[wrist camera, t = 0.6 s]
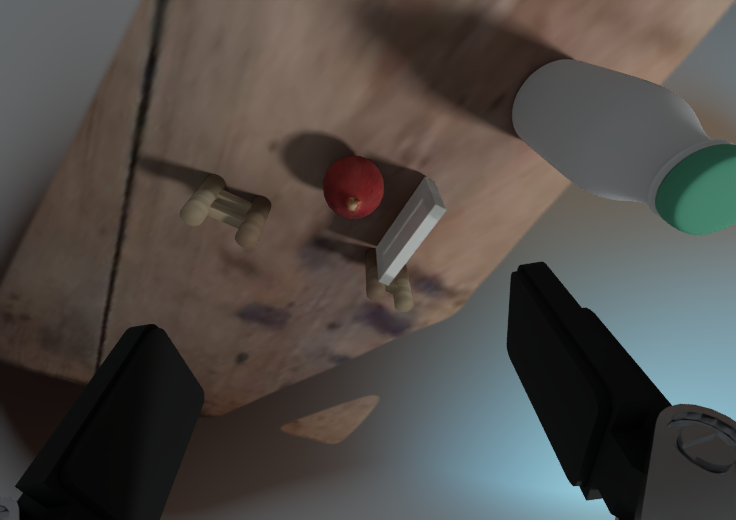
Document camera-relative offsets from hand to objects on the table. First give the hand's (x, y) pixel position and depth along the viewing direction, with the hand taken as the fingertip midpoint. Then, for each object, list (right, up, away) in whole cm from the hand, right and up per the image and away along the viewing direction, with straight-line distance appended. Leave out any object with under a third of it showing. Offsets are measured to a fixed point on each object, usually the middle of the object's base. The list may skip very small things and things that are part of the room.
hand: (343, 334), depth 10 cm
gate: (+5, +7, +30) cm, 31 cm away
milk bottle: (+18, +17, +25) cm, 35 cm away
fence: (-5, +6, +32) cm, 33 cm away
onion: (-1, +11, +28) cm, 30 cm away
